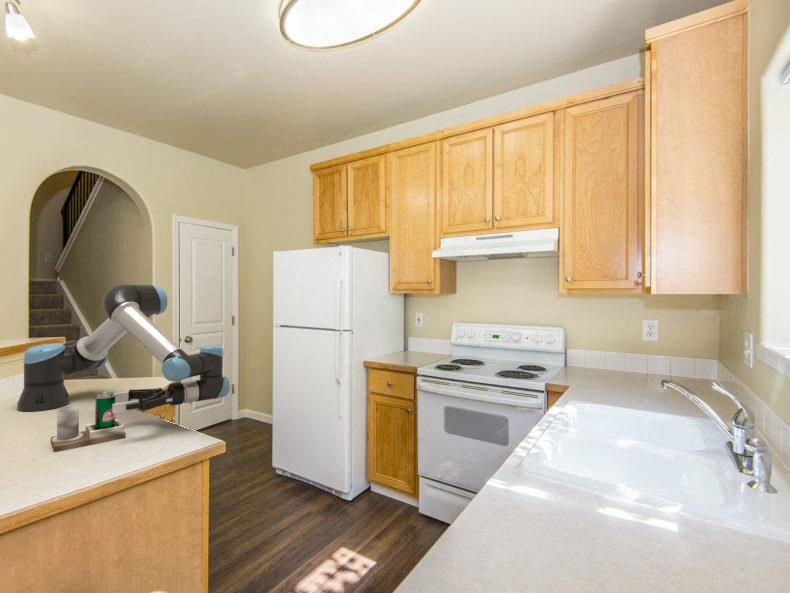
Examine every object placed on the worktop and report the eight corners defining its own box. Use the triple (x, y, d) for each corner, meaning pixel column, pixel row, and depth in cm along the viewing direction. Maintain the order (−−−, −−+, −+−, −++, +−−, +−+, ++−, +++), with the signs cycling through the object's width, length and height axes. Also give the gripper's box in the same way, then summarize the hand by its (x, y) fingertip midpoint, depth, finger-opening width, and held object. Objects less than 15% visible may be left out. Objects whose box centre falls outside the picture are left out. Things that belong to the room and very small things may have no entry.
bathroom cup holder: (118, 429, 132) (119, 397, 132) (125, 437, 125) (126, 404, 125) (50, 441, 120) (51, 406, 120) (53, 452, 113) (54, 414, 113)
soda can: (104, 435, 122) (105, 396, 122) (90, 433, 124) (91, 394, 123) (118, 429, 127) (119, 392, 127) (105, 428, 128) (106, 390, 128)
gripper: (194, 412, 131) (116, 426, 117) (171, 396, 149) (101, 406, 134) (194, 389, 131) (116, 400, 116) (171, 376, 149) (101, 384, 134)
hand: (108, 403), depth 125 cm, fingers open, 13 cm apart
